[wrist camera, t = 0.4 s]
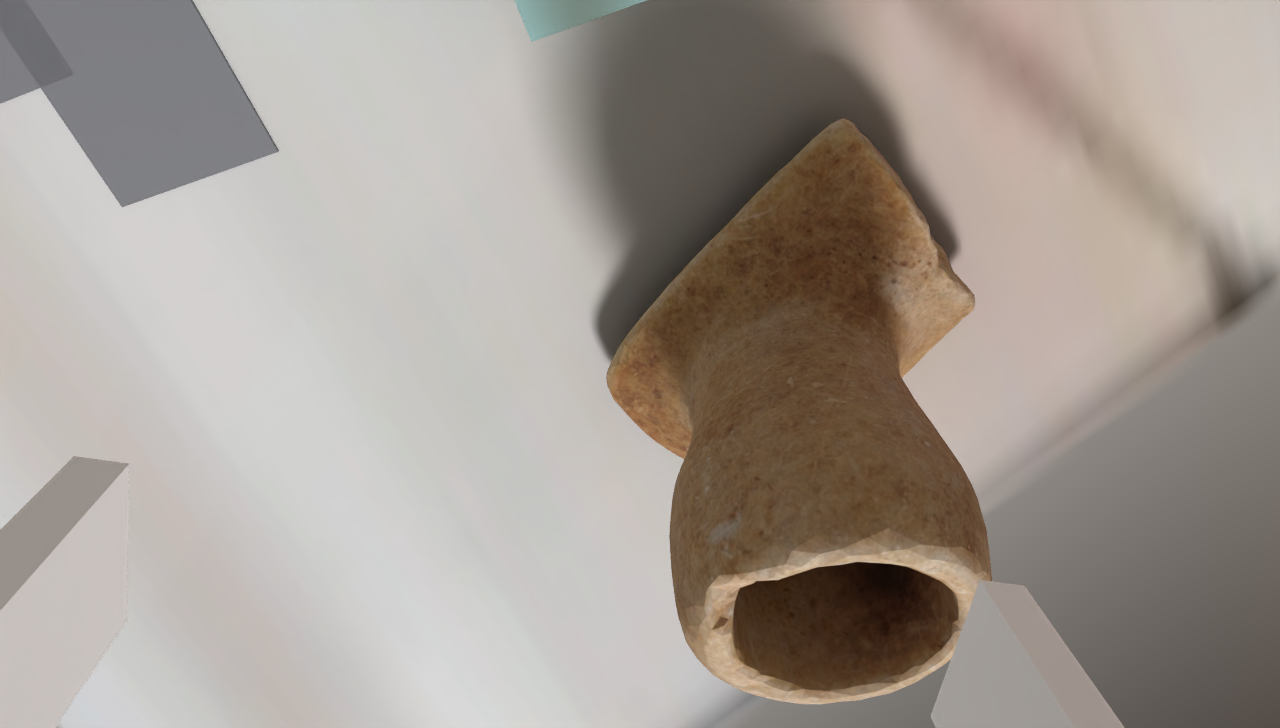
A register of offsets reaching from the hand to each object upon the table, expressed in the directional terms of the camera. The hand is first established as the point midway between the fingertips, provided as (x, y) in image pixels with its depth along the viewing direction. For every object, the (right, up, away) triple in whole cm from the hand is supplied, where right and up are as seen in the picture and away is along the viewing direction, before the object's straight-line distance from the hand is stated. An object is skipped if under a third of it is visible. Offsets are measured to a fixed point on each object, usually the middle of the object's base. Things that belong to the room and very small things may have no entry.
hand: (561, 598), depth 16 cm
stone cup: (+8, +5, +26) cm, 28 cm away
